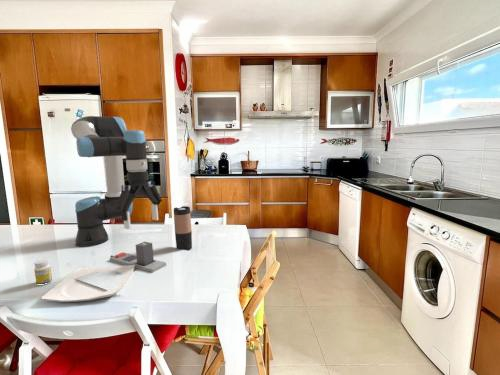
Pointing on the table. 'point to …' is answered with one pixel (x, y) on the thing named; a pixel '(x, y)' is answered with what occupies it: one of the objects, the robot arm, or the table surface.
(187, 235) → the travel mug
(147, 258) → the block
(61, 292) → the plate
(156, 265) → the power strip
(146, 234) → the table surface
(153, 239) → the table surface
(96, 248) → the table surface
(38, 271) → the supplement bottle
